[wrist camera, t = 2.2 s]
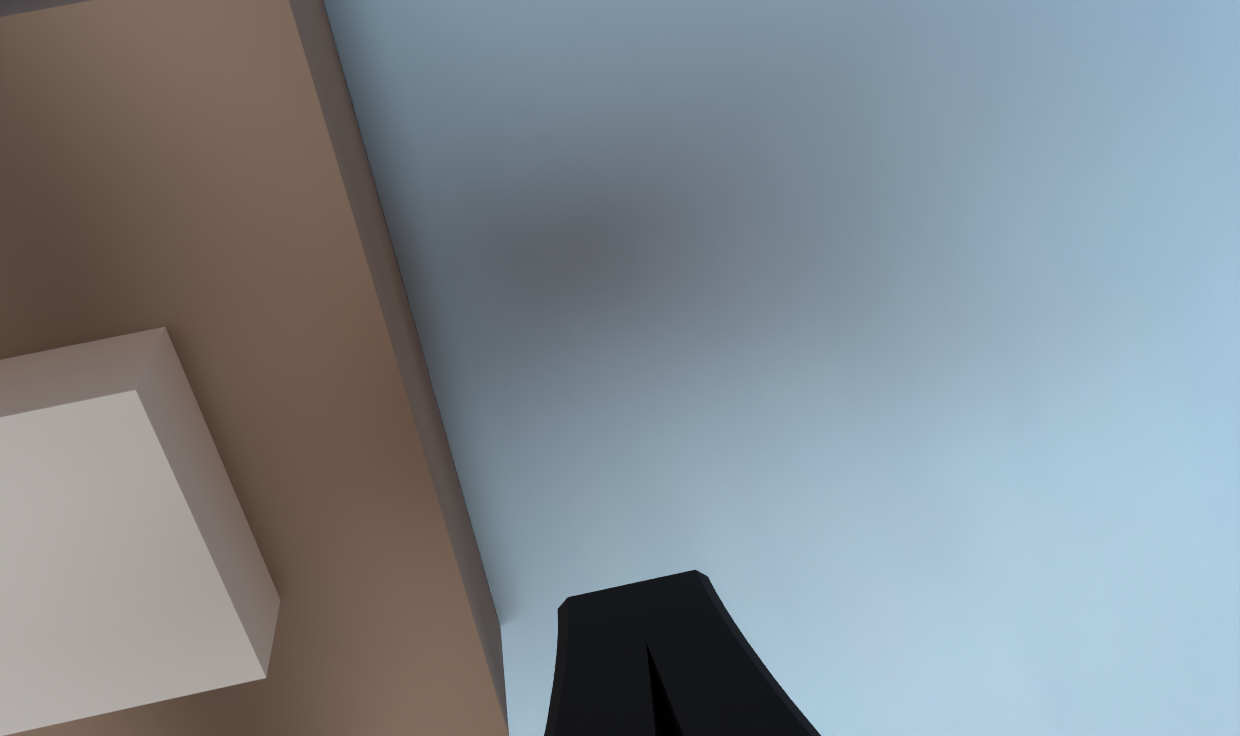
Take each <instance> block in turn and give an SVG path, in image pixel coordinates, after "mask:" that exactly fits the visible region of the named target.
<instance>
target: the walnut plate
mask: <svg viewBox="0 0 1240 736" xmlns="http://www.w3.org/2000/svg"><path fill="white" fill-rule="evenodd" d="M161 327H166V330H167V332H168V334H169V337H170V339H171V342H172V344H173V346H174V349H175V351H176V353H177V356H178V358H179V361H180V363H181V365H182V368H183V370H184V372H185V375H186V377H187V379H188V382H189V384H190V387H191V389H192V391H193V394H194V396H195V398H196V401H197V403H198V406H199V408H200V410H201V413H202V415H203V417H204V420H205V422H206V425H207V427H208V429H209V432H210V434H211V436H212V439H213V441H214V444H215V446H216V448H217V451H218V453H219V455H220V458H221V460H222V462H223V465H224V467H225V470H226V472H227V474H228V477H229V479H230V481H231V484H232V486H233V489H234V491H235V493H236V496H237V498H238V500H239V503H240V505H241V508H242V510H243V512H244V515H245V517H246V519H247V522H248V524H249V527H250V529H251V531H252V534H253V536H254V538H255V541H256V543H257V545H258V548H259V550H260V553H261V555H262V557H263V560H264V562H265V564H266V567H267V569H268V572H269V574H270V576H271V579H272V581H273V583H274V586H275V588H276V591H277V593H278V595H279V598H280V605H279V611H278V616H277V622H276V627H275V633H274V638H273V644H272V649H271V655H270V661H269V666H268V672H267V677H266V678H264V679H259V680H255V681H250V682H246V683H241V684H236V685H232V686H227V687H223V688H218V689H214V690H209V691H205V692H200V693H195V694H191V695H186V696H182V697H177V698H173V699H168V700H164V701H159V702H155V703H150V704H145V705H141V706H136V707H132V708H127V709H123V710H118V711H114V712H109V713H104V714H100V715H95V716H91V717H86V718H82V719H77V720H73V721H68V722H63V723H59V724H54V725H50V726H45V727H41V728H36V729H32V730H27V731H23V732H18V733H13V734H9V735H4V736H509V732H508V719H507V706H506V693H505V680H504V667H503V654H502V641H501V628H500V625H499V621H498V617H497V614H496V610H495V607H494V603H493V600H492V596H491V593H490V589H489V586H488V582H487V579H486V575H485V572H484V568H483V564H482V561H481V557H480V554H479V550H478V547H477V543H476V540H475V536H474V533H473V529H472V526H471V522H470V518H469V515H468V511H467V508H466V504H465V501H464V497H463V494H462V490H461V487H460V483H459V480H458V476H457V473H456V469H455V465H454V462H453V458H452V455H451V451H450V448H449V444H448V441H447V437H446V434H445V430H444V427H443V423H442V420H441V416H440V412H439V409H438V405H437V402H436V398H435V395H434V391H433V388H432V384H431V381H430V377H429V374H428V370H427V367H426V363H425V359H424V356H423V352H422V349H421V345H420V342H419V338H418V335H417V331H416V328H415V324H414V321H413V317H412V314H411V310H410V306H409V303H408V299H407V296H406V292H405V289H404V285H403V282H402V278H401V275H400V271H399V268H398V264H397V261H396V257H395V253H394V250H393V246H392V243H391V239H390V236H389V232H388V229H387V225H386V222H385V218H384V215H383V211H382V208H381V204H380V200H379V197H378V193H377V190H376V186H375V183H374V179H373V176H372V172H371V169H370V165H369V162H368V158H367V155H366V151H365V147H364V144H363V140H362V137H361V133H360V130H359V126H358V123H357V119H356V116H355V112H354V109H353V105H352V102H351V98H350V94H349V91H348V87H347V84H346V80H345V77H344V73H343V70H342V66H341V63H340V59H339V56H338V52H337V49H336V45H335V41H334V38H333V34H332V31H331V27H330V24H329V20H328V17H327V13H326V10H325V6H324V3H323V0H0V360H1V359H6V358H11V357H16V356H21V355H26V354H31V353H36V352H41V351H46V350H51V349H56V348H61V347H66V346H71V345H76V344H81V343H86V342H91V341H96V340H101V339H106V338H111V337H116V336H121V335H126V334H131V333H136V332H141V331H146V330H151V329H156V328H161Z"/></svg>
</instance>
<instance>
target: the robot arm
mask: <svg viewBox="0 0 1240 736" xmlns="http://www.w3.org/2000/svg"><path fill="white" fill-rule="evenodd" d="M544 736H821V735H820V734H819V733H818V731H817V730H816V729H815V728H814V727H813V725H812V724H811V723H810V722H809V721H808V719H807V718H806V717H805V716H804V715H803V713H802V712H801V711H800V710H799V708H798V707H797V706H796V705H795V704H794V702H793V701H792V700H791V699H790V698H789V696H788V695H787V694H786V693H785V691H784V690H783V689H782V687H781V686H780V685H779V684H778V682H777V681H776V680H775V678H774V677H773V676H772V674H771V673H770V672H769V670H768V669H767V668H766V666H765V665H764V664H763V662H762V661H761V659H760V658H759V657H758V655H757V654H756V653H755V651H754V650H753V648H752V647H751V646H750V644H749V643H748V641H747V640H746V639H745V637H744V636H743V634H742V633H741V631H740V630H739V628H738V627H737V625H736V624H735V622H734V621H733V619H732V618H731V616H730V614H729V613H728V611H727V610H726V608H725V606H724V605H723V603H722V601H721V600H720V598H719V596H718V595H717V593H716V591H715V589H714V587H713V586H712V584H711V582H710V580H709V578H708V577H707V576H706V575H704V574H702V573H700V572H699V571H697V570H692V571H687V572H683V573H678V574H673V575H669V576H664V577H659V578H655V579H650V580H646V581H641V582H636V583H632V584H627V585H622V586H618V587H613V588H609V589H604V590H599V591H595V592H590V593H585V594H581V595H576V596H572V597H568V598H567V599H566V600H565V601H564V602H563V604H562V605H561V606H560V607H559V608H558V640H557V655H556V665H555V673H554V681H553V688H552V694H551V700H550V706H549V712H548V719H547V724H546V729H545V734H544Z"/></svg>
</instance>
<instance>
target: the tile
mask: <svg viewBox="0 0 1240 736" xmlns="http://www.w3.org/2000/svg"><path fill="white" fill-rule="evenodd" d="M279 605H280V598H279V595H278V593H277V591H276V588H275V586H274V583H273V581H272V579H271V576H270V574H269V572H268V569H267V567H266V564H265V562H264V560H263V557H262V555H261V553H260V550H259V548H258V545H257V543H256V541H255V538H254V536H253V534H252V531H251V529H250V527H249V524H248V522H247V519H246V517H245V515H244V512H243V510H242V508H241V505H240V503H239V500H238V498H237V496H236V493H235V491H234V489H233V486H232V484H231V481H230V479H229V477H228V474H227V472H226V470H225V467H224V465H223V462H222V460H221V458H220V455H219V453H218V451H217V448H216V446H215V444H214V441H213V439H212V436H211V434H210V432H209V429H208V427H207V425H206V422H205V420H204V417H203V415H202V413H201V410H200V408H199V406H198V403H197V401H196V398H195V396H194V394H193V391H192V389H191V387H190V384H189V382H188V379H187V377H186V375H185V372H184V370H183V368H182V365H181V363H180V361H179V358H178V356H177V353H176V351H175V349H174V346H173V344H172V342H171V339H170V337H169V334H168V332H167V330H166V327H161V328H156V329H151V330H146V331H141V332H136V333H131V334H126V335H121V336H116V337H111V338H106V339H101V340H96V341H91V342H86V343H81V344H76V345H71V346H66V347H61V348H56V349H51V350H46V351H41V352H36V353H31V354H26V355H21V356H16V357H11V358H6V359H1V360H0V736H4V735H9V734H13V733H18V732H23V731H27V730H32V729H36V728H41V727H45V726H50V725H54V724H59V723H63V722H68V721H73V720H77V719H82V718H86V717H91V716H95V715H100V714H104V713H109V712H114V711H118V710H123V709H127V708H132V707H136V706H141V705H145V704H150V703H155V702H159V701H164V700H168V699H173V698H177V697H182V696H186V695H191V694H195V693H200V692H205V691H209V690H214V689H218V688H223V687H227V686H232V685H236V684H241V683H246V682H250V681H255V680H259V679H264V678H266V677H267V672H268V666H269V661H270V655H271V649H272V644H273V638H274V633H275V627H276V622H277V616H278V611H279Z"/></svg>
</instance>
